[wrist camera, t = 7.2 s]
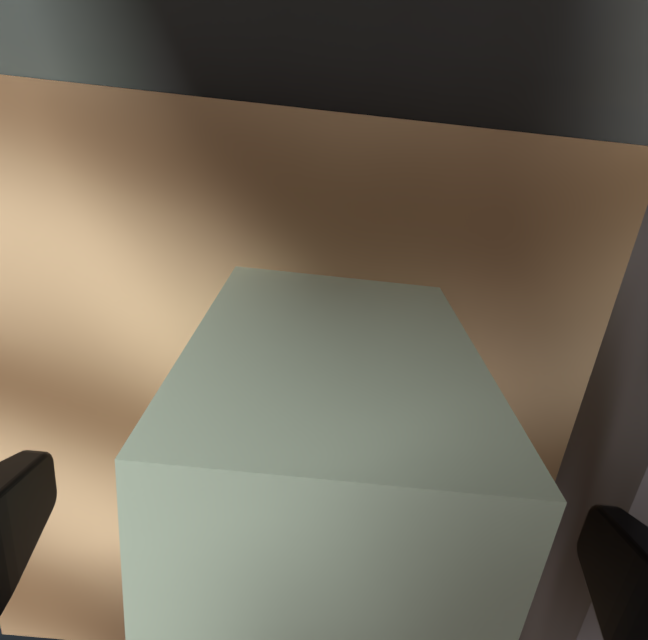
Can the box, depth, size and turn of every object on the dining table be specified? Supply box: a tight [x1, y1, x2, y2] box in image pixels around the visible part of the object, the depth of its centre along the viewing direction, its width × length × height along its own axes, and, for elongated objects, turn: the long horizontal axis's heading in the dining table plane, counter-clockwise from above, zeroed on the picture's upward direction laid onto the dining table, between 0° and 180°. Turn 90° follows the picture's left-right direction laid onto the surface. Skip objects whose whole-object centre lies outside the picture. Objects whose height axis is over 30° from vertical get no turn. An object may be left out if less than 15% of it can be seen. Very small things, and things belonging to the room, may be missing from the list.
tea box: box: [115, 266, 567, 640], centre depth 8 cm, size 4×6×6 cm
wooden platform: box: [0, 75, 648, 640], centre depth 11 cm, size 14×14×4 cm
